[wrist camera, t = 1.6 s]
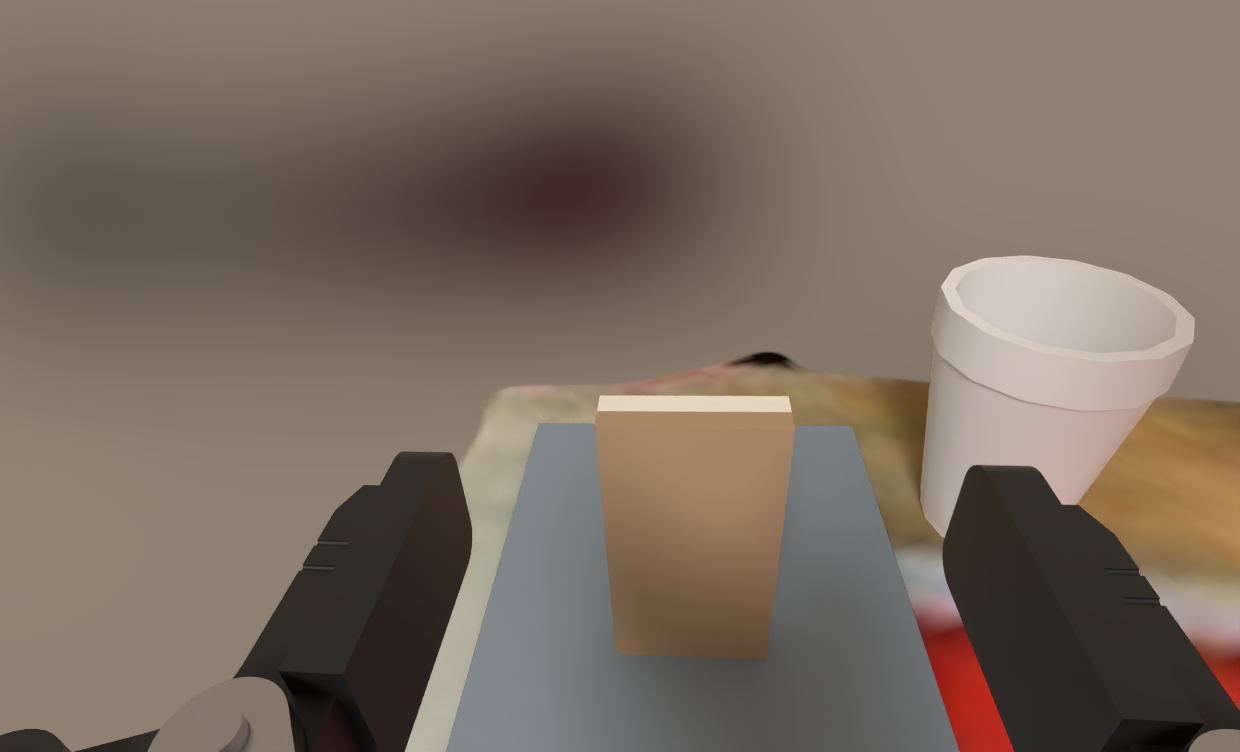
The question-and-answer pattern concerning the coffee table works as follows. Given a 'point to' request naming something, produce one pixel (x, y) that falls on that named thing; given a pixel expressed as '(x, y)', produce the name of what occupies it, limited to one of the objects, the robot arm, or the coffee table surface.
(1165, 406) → the coffee table surface
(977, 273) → the foam cup
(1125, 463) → the coffee table surface
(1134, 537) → the coffee table surface
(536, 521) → the mat
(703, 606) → the tile
